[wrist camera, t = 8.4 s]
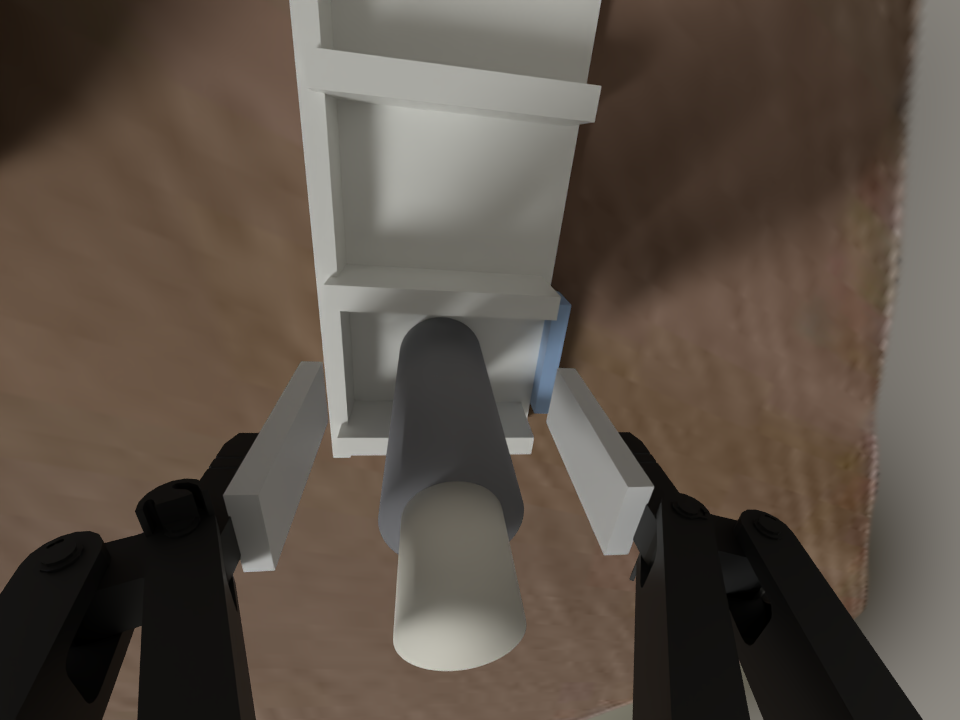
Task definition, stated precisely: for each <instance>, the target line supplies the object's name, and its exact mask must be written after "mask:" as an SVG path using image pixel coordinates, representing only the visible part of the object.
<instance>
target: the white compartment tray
mask: <svg viewBox="0 0 960 720" xmlns="http://www.w3.org/2000/svg"><path fill="white" fill-rule="evenodd" d="M289 2H290V12H291V23H292V33H293V44H294V54H295V64H296V75H297V85H298V95H299V106H300V116H301V127H302V137H303V147H304V158H305V168H306V178H307V189H308V199H309V210H310V220H311V230H312V241H313V251H314V262H315V272H316V282H317V293H318V303H319V313H320V324H321V334H322V345H323V355H324V365H325V376H326V386H327V396H328V407H329V417H330V428H331V438H332V448H333V458H350V457H351V455H386V453H387V445H388V438H389V430H390V422H391V414H392V407H393V399H394V391H395V383H396V375H397V368H398V360H399V352H400V346H401V343H402V340H403V338H404V337H405V335H406V334H407V332H408V331H409V330H410V329H411V328H412V327H414V326H415V325H416V324H418V323H420V322H422V321H424V320H427V319H430V318H436V317H445V318H451V319H455V320H458V321H460V322H462V323H463V324H465V325H466V326H468V327H469V328H470V329H471V330H472V331H473V332H474V334H475V335H476V337H477V339H478V341H479V344H480V347H481V351H482V355H483V358H484V362H485V365H486V369H487V373H488V376H489V380H490V384H491V387H492V391H493V395H494V398H495V402H496V406H497V409H498V413H499V416H500V420H501V424H502V427H503V431H504V435H505V438H506V442H507V446H508V449H509V453H510V454H531V451H532V446H533V440H534V436H533V434H532V431H531V428H530V426H529V423H528V420H527V417H528V411H529V405H530V404H531V406H532V409H533V411H534V413H548V412H549V407H550V402H551V397H552V392H553V387H554V382H555V377H556V373H557V368H559V363H560V358H561V353H562V349H563V344H564V339H565V334H566V329H567V324H568V319H569V315H570V310H571V304H570V303H569V302H568V301H567V300H566V299H565V297H564V296H563V295H562V294H561V293H560V292H559V291H555V290H554V289H553V288H552V286H551V281H552V276H553V270H554V264H555V259H556V253H557V248H558V242H559V236H560V231H561V225H562V219H563V214H564V208H565V202H566V197H567V191H568V186H569V180H570V174H571V169H572V163H573V157H574V152H575V146H576V141H577V135H578V129H579V125H580V124H587V123H593V122H595V118H596V112H597V107H598V102H599V97H600V92H601V86H598V85H591V84H587V79H588V73H589V67H590V62H591V56H592V50H593V45H594V39H595V33H596V28H597V22H598V17H599V11H600V5H601V0H289Z"/></svg>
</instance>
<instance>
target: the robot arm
mask: <svg viewBox="0 0 960 720" xmlns="http://www.w3.org/2000/svg"><path fill="white" fill-rule="evenodd" d="M327 423H328V414H327V404H326V394H325V384H324V374H323V363H322V362H302V361H301V363H300V364H299V366H298V368H297V369H296V371H295V373H294V374H293V376H292V378H291V380H290V381H289V383H288V385H287V386H286V388H285V390H284V392H283V393H282V395H281V397H280V398H279V400H278V402H277V404H276V405H275V407H274V409H273V410H272V412H271V414H270V416H269V417H268V419H267V421H266V422H265V424H264V426H263V428H262V429H261V431H260V433H239V434H237V435H236V436H235V437H233V438H232V439H231V440H229V441H228V442H227V443H225V444H224V445H223V447H222V448H221V450H220V451H219V453H218V454H217V456H216V459H214V460H213V462H212V463H211V465H210V466H209V469H207V471H206V472H205V473H204V475H203V476H202V478H201V479H200V481H199V480H197V479H181V480H175V481H171V482H168V483H166V484H163V485H161V486H158V487H157V488H155V489H154V490H152V491H150V492H149V493H147V494H146V495H145V496H144V497H143V498H142V499H141V500H140V501H139V503H138V505H137V508H136V510H135V512H136V515H137V517H138V520H139V522H140V524H141V527H142V529H143V531H144V533H141V534H138V535H135V536H131V537H127V538H123V539H119V540H115V541H111V542H107V543H104V542H103V540H102V538H101V537H100V535H99V534H97V533H94V532H91V531H83V532H74V533H71V534H67V535H64V536H60V537H58V538H56V539H54V540H52V541H50V542H48V543H46V544H44V545H42V546H41V547H40V548H38V549H37V550H35V551H34V552H32V553H31V554H30V555H29V556H28V557H27V558H26V559H25V560H24V561H23V562H22V563H21V564H20V566H19V567H18V569H17V570H16V572H15V573H14V575H13V576H12V577H11V579H10V580H9V582H8V583H7V585H6V586H5V588H4V589H3V591H2V592H1V594H0V720H102V718H103V716H104V713H105V710H106V707H107V704H108V702H109V699H110V696H111V693H112V690H113V688H114V685H115V682H116V679H117V676H118V674H119V671H120V668H121V665H122V662H123V660H124V657H125V654H126V651H127V648H128V645H129V643H130V640H131V637H132V634H133V631H134V629H135V628H136V627H139V626H142V634H141V655H140V676H139V697H138V719H137V720H256V717H255V711H254V704H253V697H252V691H251V684H250V677H249V671H248V664H247V657H246V651H245V644H244V637H243V631H242V624H241V617H240V611H239V604H238V598H237V591H236V584H235V580H234V577H233V573H234V571H235V568H236V566H237V564H238V562H239V560H241V564H242V567H243V571H244V572H255V571H275V569H276V566H277V563H278V560H279V557H280V555H281V552H282V549H283V546H284V543H285V541H286V538H287V535H288V532H289V529H290V527H291V524H292V521H293V518H294V515H295V513H296V510H297V507H298V504H299V501H300V499H301V496H302V493H303V490H304V488H305V485H306V482H307V479H308V476H309V474H310V471H311V468H312V465H313V462H314V460H315V457H316V454H317V451H318V448H319V446H320V443H321V440H322V437H323V434H324V432H325V429H326V426H327ZM546 423H547V425H548V427H549V430H550V432H551V434H552V437H553V439H554V441H555V443H556V446H557V448H558V450H559V453H560V455H561V457H562V460H563V462H564V464H565V466H566V469H567V471H568V473H569V476H570V478H571V480H572V482H573V485H574V487H575V489H576V492H577V494H578V496H579V499H580V501H581V503H582V505H583V508H584V510H585V512H586V515H587V517H588V519H589V522H590V524H591V526H592V528H593V531H594V533H595V535H596V538H597V540H598V542H599V544H600V547H601V549H602V551H603V554H604V555H622V554H628V553H629V551H630V548H631V546H632V543H633V540H634V542H635V544H636V546H637V548H638V550H639V552H640V554H639V556H638V559H637V561H636V564H635V566H634V569H633V571H632V573H631V577H630V580H632V581H634V579H635V576H636V601H635V642H634V684H633V720H750V716H749V711H748V706H747V701H746V695H745V690H744V685H743V680H742V674H741V669H740V664H739V661H740V663H741V666H742V668H743V671H744V673H745V675H746V678H747V680H748V682H749V685H750V688H751V690H752V692H753V695H754V697H755V700H756V702H757V705H758V707H759V710H760V712H761V714H762V717H763V719H764V720H923V719H922V718H921V716H920V715H919V714H918V712H917V711H916V709H915V708H914V706H913V705H912V704H911V702H910V701H909V699H908V698H907V696H906V695H905V693H904V692H903V690H902V689H901V688H900V686H899V685H898V683H897V682H896V680H895V679H894V678H893V676H892V675H891V673H890V672H889V670H888V669H887V668H886V666H885V665H884V663H883V662H882V660H881V659H880V657H879V656H878V654H877V653H876V652H875V650H874V649H873V647H872V646H871V645H870V643H869V641H868V640H867V639H866V637H865V636H864V635H863V633H862V631H861V630H860V629H859V627H858V626H857V624H856V623H855V621H854V620H853V618H852V617H851V615H850V614H849V613H848V611H847V610H846V608H845V607H844V605H843V604H842V602H841V601H840V600H839V598H838V597H837V595H836V594H835V592H834V591H833V589H832V588H831V587H830V585H829V584H828V582H827V581H826V579H825V578H824V577H823V575H822V574H821V572H820V571H819V569H818V568H817V566H816V565H815V564H814V562H813V561H812V559H811V558H810V556H809V555H808V553H807V552H806V551H805V549H804V548H803V546H802V545H801V543H800V542H799V540H798V539H797V538H796V536H795V535H794V533H793V532H792V531H791V530H790V529H789V528H788V526H787V525H786V524H784V523H783V522H782V521H780V520H779V519H777V518H776V517H774V516H772V515H770V514H768V513H766V512H762V511H759V510H746V511H744V512H742V514H741V515H740V517H739V519H738V521H737V520H733V519H729V518H724V517H720V516H716V515H712V514H710V513H709V511H708V510H707V508H706V507H705V506H704V505H703V504H702V503H700V502H699V501H697V500H696V499H695V498H693V497H690V496H688V495H686V494H682V493H679V492H678V490H677V489H676V488H675V486H674V485H673V483H672V482H671V481H670V479H669V478H668V477H667V475H666V474H665V473H664V471H663V470H662V468H661V467H660V466H659V464H658V463H656V460H655V459H654V457H653V456H652V455H651V454H650V452H649V451H648V449H647V448H646V447H645V445H644V444H643V442H642V441H640V440H639V439H638V438H636V437H635V436H634V435H632V434H631V433H630V432H617V430H616V429H615V427H614V426H613V424H612V423H611V421H610V420H609V418H608V417H607V415H606V414H605V412H604V411H603V409H602V408H601V406H600V405H599V403H598V402H597V400H596V399H595V397H594V396H593V394H592V393H591V391H590V390H589V388H588V387H587V385H586V384H585V382H584V381H583V379H582V378H581V376H580V375H579V373H578V372H577V370H576V369H575V368H557V373H556V377H555V382H554V387H553V392H552V397H551V402H550V407H549V412H548V416H547V421H546Z"/></svg>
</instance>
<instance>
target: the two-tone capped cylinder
mask: <svg viewBox="0 0 960 720" xmlns="http://www.w3.org/2000/svg"><path fill="white" fill-rule="evenodd" d="M523 514H524V506H523V500H522V497H521V493H520V489H519V486H518V482H517V478H516V475H515V471H514V468H513V464H512V460H511V457H510V453H509V449H508V446H507V442H506V438H505V435H504V431H503V427H502V424H501V420H500V416H499V413H498V409H497V406H496V402H495V398H494V395H493V391H492V387H491V384H490V380H489V376H488V373H487V369H486V365H485V362H484V358H483V355H482V351H481V347H480V344H479V341H478V339H477V337H476V335H475V334H474V332H473V331H472V330H471V329H470V328H469V327H468V326H466V325H465V324H463V323H462V322H460V321H458V320H455V319H451V318H445V317H436V318H430V319H427V320H424V321H422V322H420V323H418V324H416V325H415V326H414V327H412V328H411V329H410V330H409V331H408V332H407V334H406V335H405V337H404V338H403V340H402V343H401V346H400V352H399V360H398V368H397V375H396V383H395V391H394V399H393V407H392V414H391V422H390V430H389V438H388V445H387V453H386V461H385V469H384V477H383V484H382V492H381V500H380V508H379V516H378V524H379V530H380V533H381V536H382V537H383V539H384V541H385V542H386V543H387V545H388V546H389V547H390V548H391V549H392V550H393V551H394V552H396V553H397V554H399V558H398V573H397V589H396V604H395V619H394V634H393V644H394V647H395V650H396V651H397V653H398V654H399V655H400V656H401V657H402V658H403V659H404V660H406V661H407V662H409V663H411V664H413V665H415V666H418V667H421V668H425V669H430V670H437V671H457V670H465V669H470V668H475V667H479V666H482V665H485V664H488V663H490V662H493V661H495V660H497V659H499V658H501V657H503V656H504V655H506V654H507V653H509V652H510V651H511V650H512V649H514V648H515V647H516V646H517V645H518V643H519V642H520V641H521V639H522V638H523V636H524V634H525V631H526V618H525V614H524V609H523V604H522V599H521V595H520V590H519V585H518V581H517V576H516V571H515V566H514V562H513V557H512V552H511V548H510V543H509V541H510V540H511V539H512V538H513V537H514V536H515V534H516V533H517V531H518V529H519V527H520V525H521V523H522V519H523Z"/></svg>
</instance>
